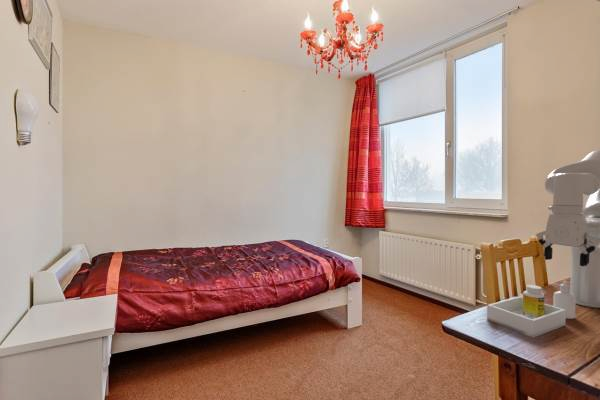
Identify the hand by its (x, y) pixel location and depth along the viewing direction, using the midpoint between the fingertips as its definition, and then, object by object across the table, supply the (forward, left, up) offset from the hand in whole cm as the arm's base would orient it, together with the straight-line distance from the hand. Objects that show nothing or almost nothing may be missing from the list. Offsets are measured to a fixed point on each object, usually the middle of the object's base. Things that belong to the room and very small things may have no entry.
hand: (565, 262), depth 104 cm
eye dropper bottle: (0, 0, -19) cm, 19 cm away
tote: (+16, -3, -18) cm, 25 cm away
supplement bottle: (+12, -3, -18) cm, 21 cm away
